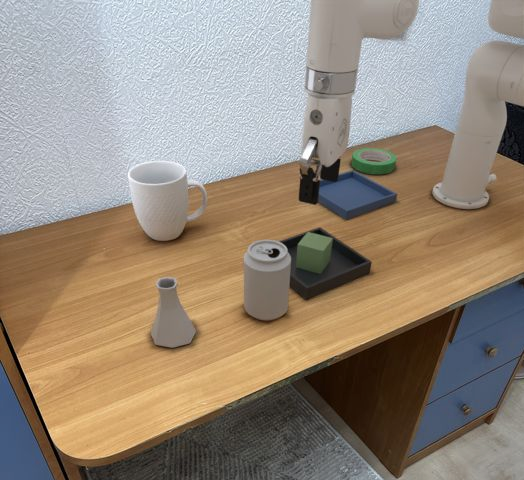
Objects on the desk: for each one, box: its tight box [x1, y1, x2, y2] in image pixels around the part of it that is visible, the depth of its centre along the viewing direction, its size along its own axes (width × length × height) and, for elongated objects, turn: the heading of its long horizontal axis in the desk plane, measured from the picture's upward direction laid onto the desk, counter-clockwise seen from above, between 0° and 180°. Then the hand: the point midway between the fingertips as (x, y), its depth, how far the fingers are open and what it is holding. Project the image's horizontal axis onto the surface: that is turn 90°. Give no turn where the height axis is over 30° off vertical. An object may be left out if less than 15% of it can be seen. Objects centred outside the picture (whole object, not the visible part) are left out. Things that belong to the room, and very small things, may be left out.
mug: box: [127, 160, 209, 242], centre depth 101 cm, size 15×11×13 cm
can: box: [243, 239, 291, 321], centre depth 83 cm, size 8×8×12 cm
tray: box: [318, 169, 398, 220], centre depth 117 cm, size 15×15×2 cm
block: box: [296, 231, 333, 274], centre depth 95 cm, size 5×5×5 cm
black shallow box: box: [278, 226, 373, 301], centre depth 96 cm, size 15×15×2 cm
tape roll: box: [350, 147, 397, 175], centre depth 130 cm, size 11×11×3 cm
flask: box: [150, 276, 197, 349], centre depth 78 cm, size 7×7×10 cm
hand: (318, 190), depth 86 cm, fingers open, 9 cm apart
